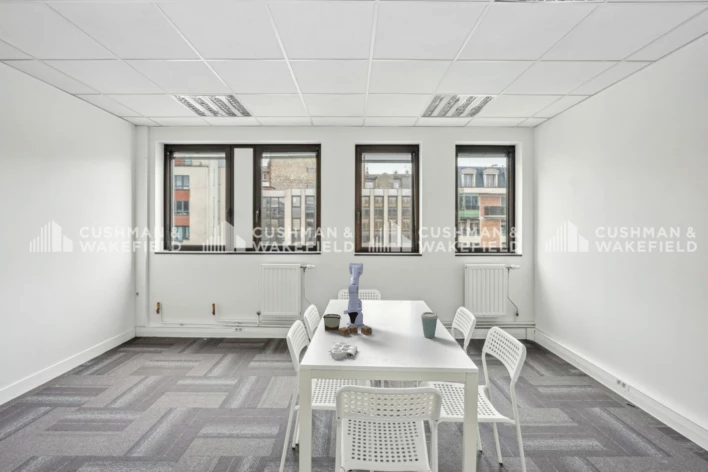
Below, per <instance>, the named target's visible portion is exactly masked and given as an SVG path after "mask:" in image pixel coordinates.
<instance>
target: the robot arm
mask: <svg viewBox="0 0 708 472" xmlns="http://www.w3.org/2000/svg"><path fill="white" fill-rule="evenodd" d="M348 266H349V267H348V269H349V270H348V271H349V274H350V275H351V277H350V280H349V281H350V282H349V285H348V287H347V288H348V301H347V309H345V310H343V315H348V317H349V322H347V323H346V325H348V326H352V325H354V326H357V327H359V326H361V325H362V326H363V325H364V313H363V304H362V303H363V301H362V300H361V299H360V298H359V291H360V287H359V286H360V278H361V277H360V276H362V275H363V273H364V263H363V262H349V264H348Z"/></svg>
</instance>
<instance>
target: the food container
mask: <svg viewBox="0 0 708 472" xmlns="http://www.w3.org/2000/svg"><path fill="white" fill-rule="evenodd" d="M322 318H323V322H324V323H323V324H324V331H326V332H327V331H329V332H330V331H331V332H339V328H340V323H341V319H342V317H341V315H340V314H337V313H328V314H324V315H323V317H322Z"/></svg>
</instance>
